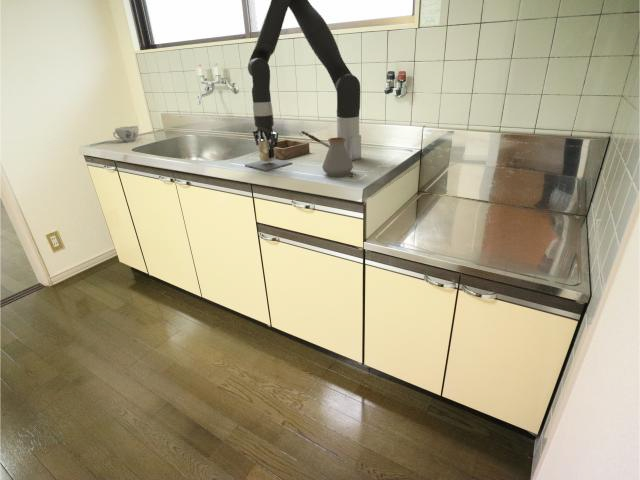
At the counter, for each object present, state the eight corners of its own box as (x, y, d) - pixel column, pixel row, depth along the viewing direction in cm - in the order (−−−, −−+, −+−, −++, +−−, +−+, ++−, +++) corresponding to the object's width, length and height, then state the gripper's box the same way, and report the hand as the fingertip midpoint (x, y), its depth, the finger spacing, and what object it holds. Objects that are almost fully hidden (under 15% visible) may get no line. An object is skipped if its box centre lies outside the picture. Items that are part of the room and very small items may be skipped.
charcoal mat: (292, 163, 158) (292, 162, 158) (265, 171, 150) (265, 169, 149) (271, 159, 167) (270, 158, 167) (244, 166, 159) (244, 164, 158)
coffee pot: (358, 171, 143) (358, 131, 137) (344, 179, 135) (343, 136, 128) (310, 166, 154) (308, 128, 147) (294, 173, 145) (291, 133, 138)
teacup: (133, 138, 233) (130, 125, 229) (145, 140, 226) (142, 126, 222) (110, 143, 222) (106, 129, 218) (121, 144, 215) (117, 130, 211)
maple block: (275, 159, 157) (273, 140, 154) (267, 161, 155) (265, 142, 151) (268, 158, 160) (266, 139, 157) (260, 160, 158) (258, 140, 154)
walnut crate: (309, 152, 176) (309, 142, 174) (283, 159, 166) (282, 149, 164) (287, 148, 186) (286, 139, 185) (261, 154, 176) (260, 145, 174)
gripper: (282, 113, 147) (285, 157, 155) (259, 111, 157) (264, 153, 164) (267, 116, 143) (271, 161, 150) (244, 114, 152) (250, 156, 159)
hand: (267, 156), depth 157 cm, fingers closed on maple block, 4 cm apart
